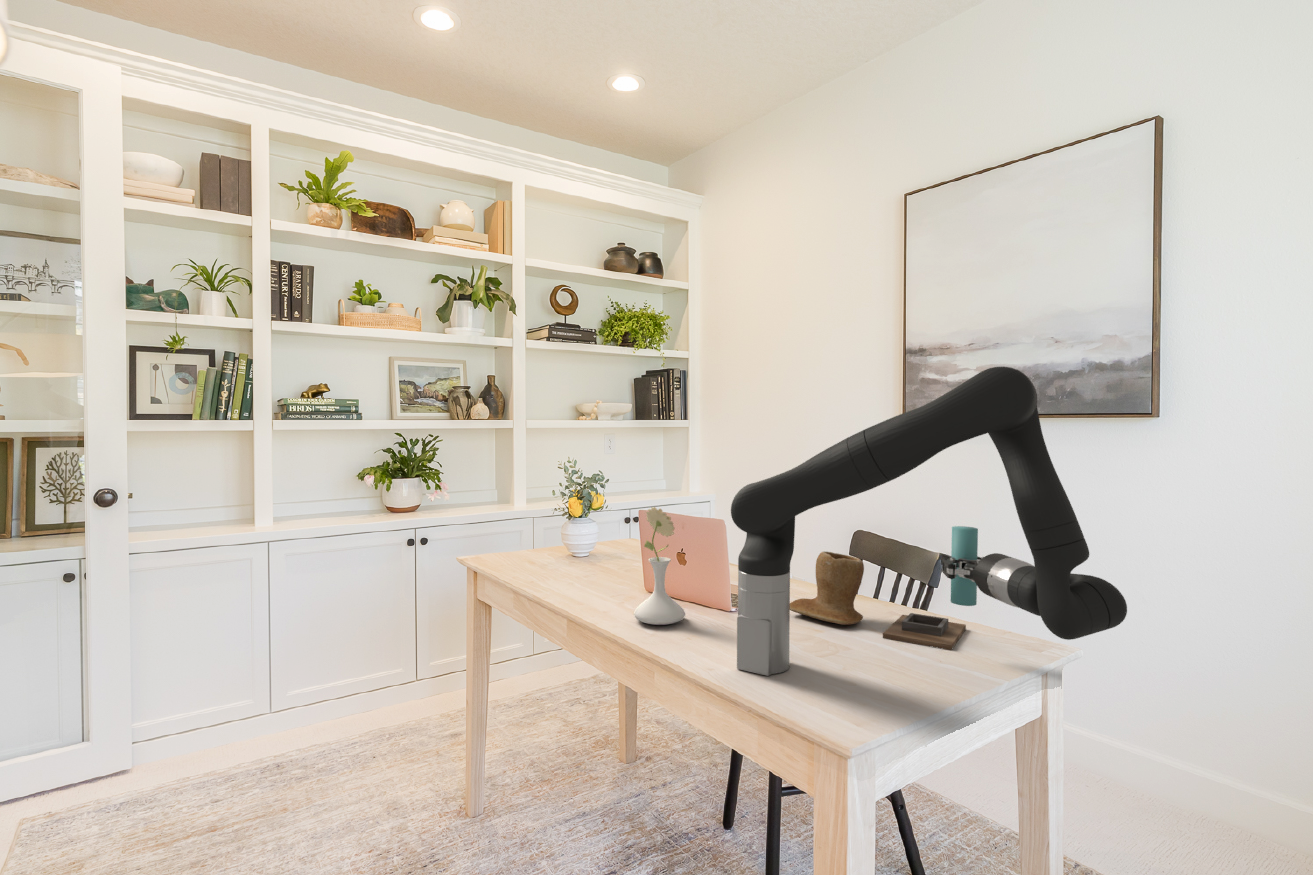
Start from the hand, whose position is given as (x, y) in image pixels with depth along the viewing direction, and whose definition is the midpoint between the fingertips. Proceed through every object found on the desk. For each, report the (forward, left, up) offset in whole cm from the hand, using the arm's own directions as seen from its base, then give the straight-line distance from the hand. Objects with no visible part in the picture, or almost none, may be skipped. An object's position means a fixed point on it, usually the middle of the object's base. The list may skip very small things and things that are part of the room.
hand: (956, 559), depth 127 cm
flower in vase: (-15, +58, -18) cm, 63 cm away
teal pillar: (-2, -2, -7) cm, 8 cm away
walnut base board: (+9, +7, -18) cm, 21 cm away
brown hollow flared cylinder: (+8, +27, -18) cm, 34 cm away
